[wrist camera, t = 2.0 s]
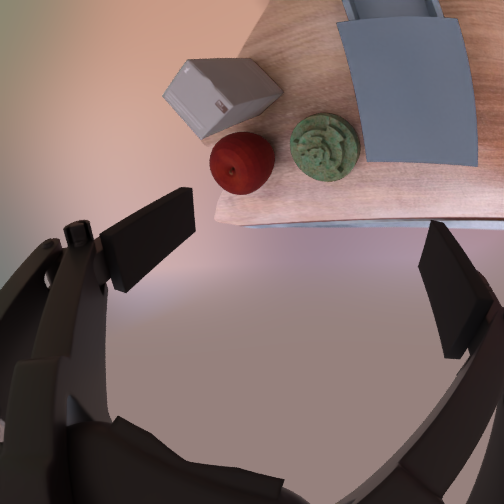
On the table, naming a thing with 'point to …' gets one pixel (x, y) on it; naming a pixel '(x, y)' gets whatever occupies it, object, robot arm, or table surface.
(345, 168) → the decorative artifact
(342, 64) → the table surface
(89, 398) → the robot arm
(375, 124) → the cabinet
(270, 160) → the apple
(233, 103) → the cosmetic box
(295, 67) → the table surface
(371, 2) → the drawer
